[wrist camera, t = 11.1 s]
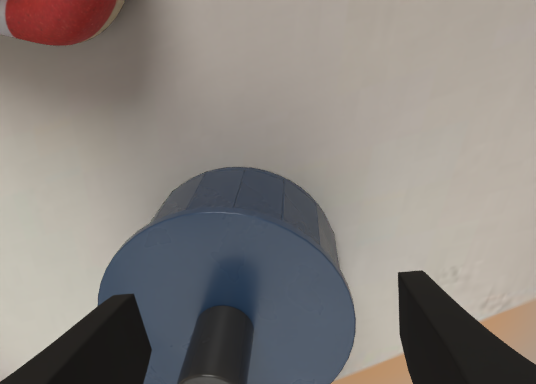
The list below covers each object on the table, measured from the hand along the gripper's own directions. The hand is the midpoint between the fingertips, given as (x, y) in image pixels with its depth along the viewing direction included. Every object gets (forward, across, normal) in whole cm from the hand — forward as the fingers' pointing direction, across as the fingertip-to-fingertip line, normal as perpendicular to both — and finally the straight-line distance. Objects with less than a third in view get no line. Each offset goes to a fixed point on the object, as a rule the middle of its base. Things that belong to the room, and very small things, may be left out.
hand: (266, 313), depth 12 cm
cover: (+5, +3, +4) cm, 7 cm away
